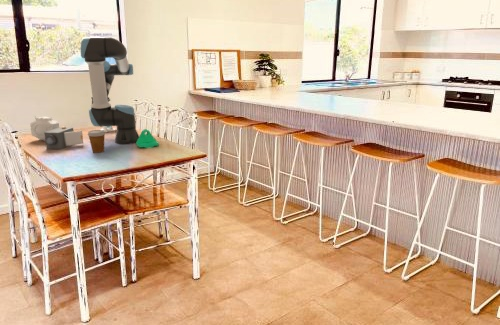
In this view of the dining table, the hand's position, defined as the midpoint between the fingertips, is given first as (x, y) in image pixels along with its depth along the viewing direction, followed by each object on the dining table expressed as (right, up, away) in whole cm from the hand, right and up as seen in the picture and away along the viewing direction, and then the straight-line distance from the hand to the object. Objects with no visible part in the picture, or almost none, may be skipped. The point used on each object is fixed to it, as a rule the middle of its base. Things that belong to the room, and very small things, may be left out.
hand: (94, 118), depth 268 cm
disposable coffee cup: (+15, -23, -31) cm, 42 cm away
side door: (-5, -18, -19) cm, 26 cm away
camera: (-30, -15, -3) cm, 34 cm away
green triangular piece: (+40, -20, -19) cm, 49 cm away
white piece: (-2, -6, +30) cm, 31 cm away
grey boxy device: (-14, -19, -19) cm, 30 cm away
